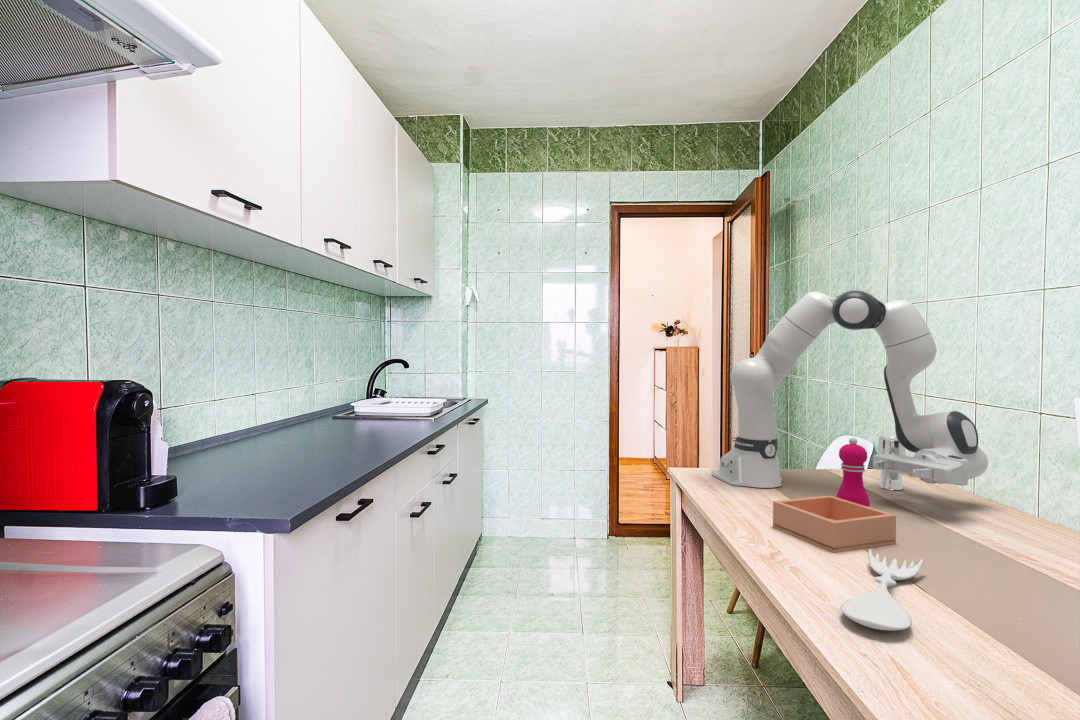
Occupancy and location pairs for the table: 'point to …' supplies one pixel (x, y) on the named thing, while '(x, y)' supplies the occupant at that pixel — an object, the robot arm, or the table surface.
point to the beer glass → (887, 477)
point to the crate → (834, 523)
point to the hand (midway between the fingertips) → (893, 469)
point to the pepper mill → (853, 473)
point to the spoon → (882, 598)
